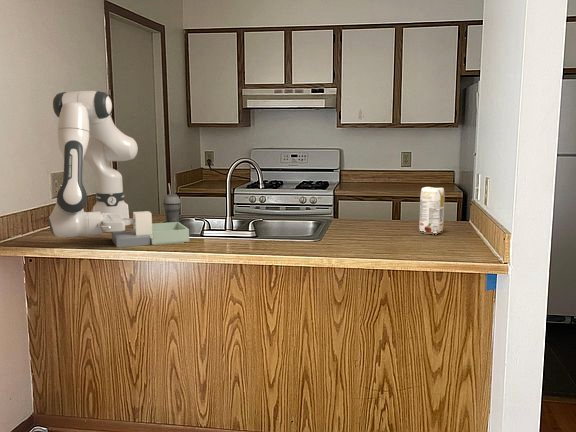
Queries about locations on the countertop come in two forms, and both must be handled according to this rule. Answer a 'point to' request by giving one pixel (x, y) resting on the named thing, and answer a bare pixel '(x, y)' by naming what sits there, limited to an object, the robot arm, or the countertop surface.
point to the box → (168, 233)
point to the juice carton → (431, 209)
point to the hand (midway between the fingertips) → (134, 221)
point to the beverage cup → (172, 207)
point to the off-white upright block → (142, 223)
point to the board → (129, 239)
